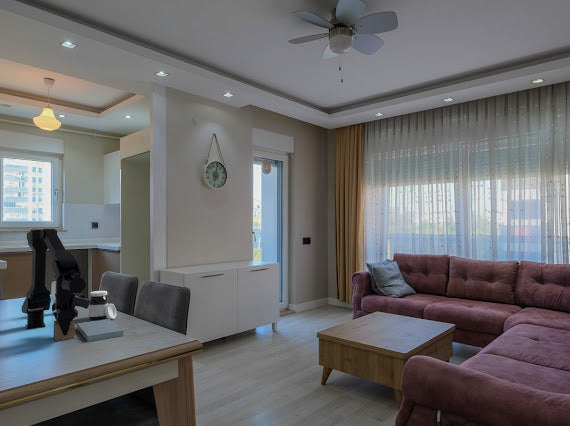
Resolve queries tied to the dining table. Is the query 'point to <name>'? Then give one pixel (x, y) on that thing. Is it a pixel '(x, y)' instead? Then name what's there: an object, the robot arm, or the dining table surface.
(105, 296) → the spread jar
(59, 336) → the walnut cube
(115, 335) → the slate board
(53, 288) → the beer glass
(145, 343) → the dining table surface
